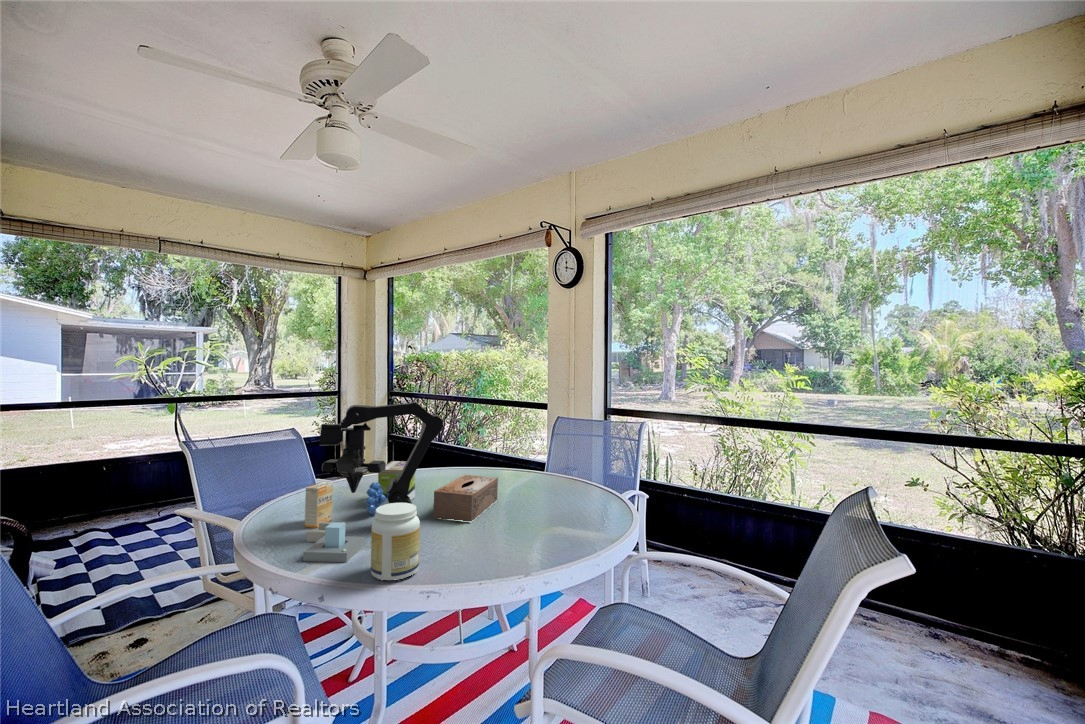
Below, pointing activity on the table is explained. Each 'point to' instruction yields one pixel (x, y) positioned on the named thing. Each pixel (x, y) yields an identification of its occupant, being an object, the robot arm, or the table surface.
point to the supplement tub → (395, 541)
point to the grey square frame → (319, 532)
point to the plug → (335, 535)
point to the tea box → (394, 471)
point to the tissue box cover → (465, 497)
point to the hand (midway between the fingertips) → (353, 492)
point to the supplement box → (318, 504)
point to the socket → (333, 550)
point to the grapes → (374, 497)
